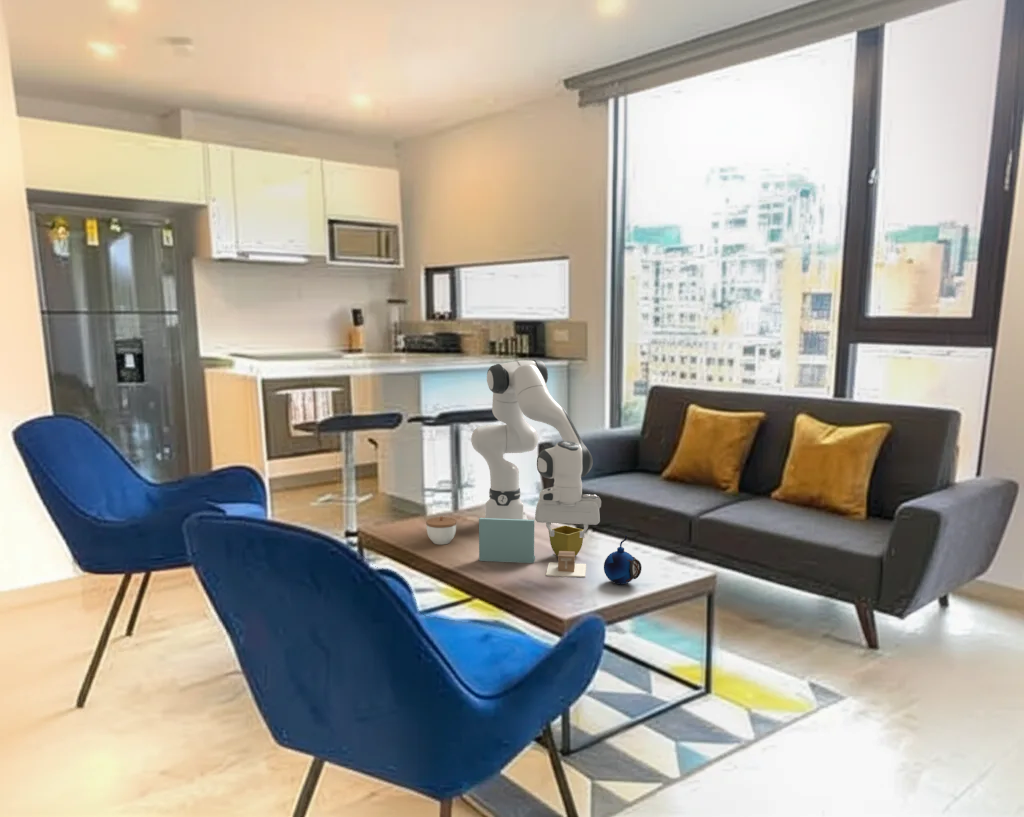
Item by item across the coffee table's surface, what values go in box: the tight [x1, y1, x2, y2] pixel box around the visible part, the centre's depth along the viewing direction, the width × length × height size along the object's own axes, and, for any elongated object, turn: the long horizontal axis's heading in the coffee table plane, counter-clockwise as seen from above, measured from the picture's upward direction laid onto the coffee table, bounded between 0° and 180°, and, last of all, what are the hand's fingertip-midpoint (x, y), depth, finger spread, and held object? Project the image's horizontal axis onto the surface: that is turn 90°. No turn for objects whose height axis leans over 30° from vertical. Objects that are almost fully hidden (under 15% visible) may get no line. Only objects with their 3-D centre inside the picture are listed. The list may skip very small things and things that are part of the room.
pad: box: [545, 561, 587, 578], centre depth 231 cm, size 12×12×1 cm
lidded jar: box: [425, 515, 457, 545], centre depth 262 cm, size 11×11×9 cm
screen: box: [478, 517, 536, 564], centre depth 241 cm, size 5×18×14 cm, turn 83°
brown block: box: [557, 551, 576, 572], centre depth 231 cm, size 5×5×5 cm
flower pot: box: [548, 525, 584, 557], centre depth 246 cm, size 9×9×9 cm
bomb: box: [603, 535, 642, 585], centre depth 219 cm, size 10×11×15 cm
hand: (567, 536), depth 231 cm, fingers open, 8 cm apart
